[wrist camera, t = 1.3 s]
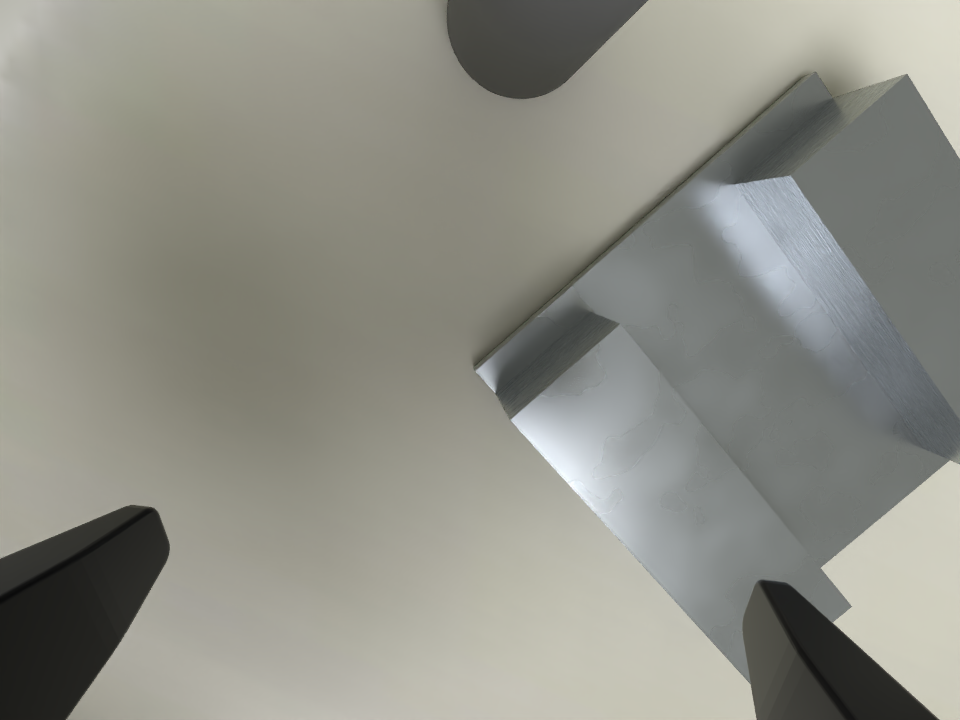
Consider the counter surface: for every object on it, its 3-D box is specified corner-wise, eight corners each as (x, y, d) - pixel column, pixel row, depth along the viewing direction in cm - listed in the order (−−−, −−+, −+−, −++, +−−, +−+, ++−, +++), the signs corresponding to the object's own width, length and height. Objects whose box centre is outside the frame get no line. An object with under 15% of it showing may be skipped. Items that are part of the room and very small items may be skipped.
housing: (717, 636, 24) (771, 706, 20) (473, 367, 21) (486, 394, 17) (1011, 391, 23) (1119, 420, 19) (803, 76, 20) (887, 42, 16)
